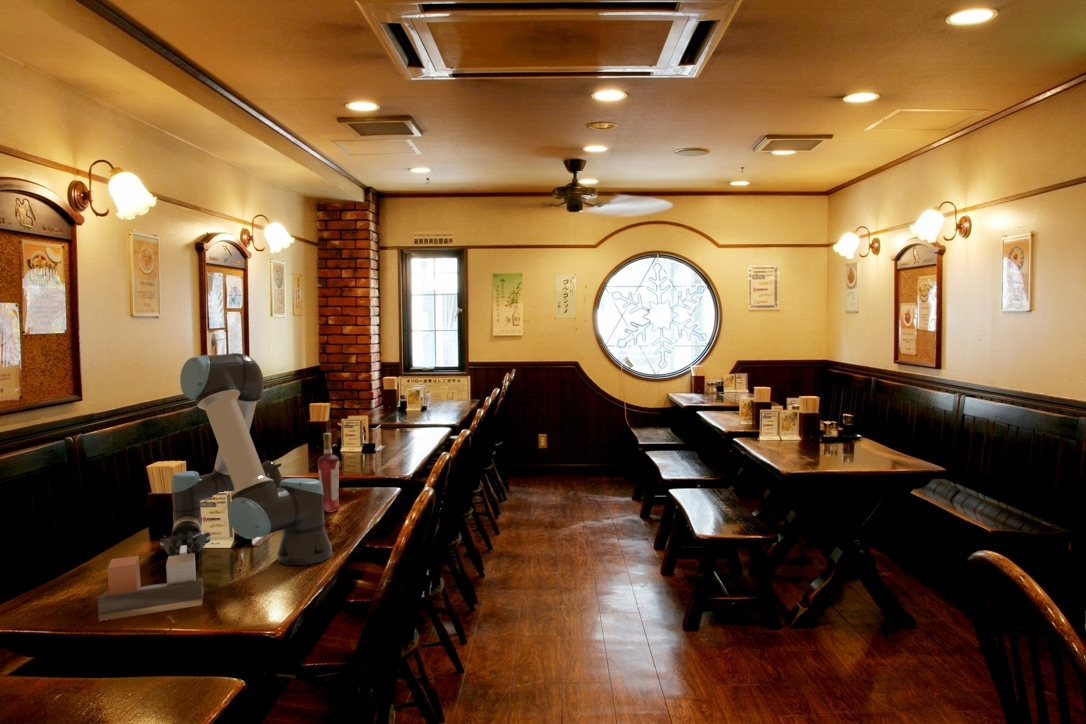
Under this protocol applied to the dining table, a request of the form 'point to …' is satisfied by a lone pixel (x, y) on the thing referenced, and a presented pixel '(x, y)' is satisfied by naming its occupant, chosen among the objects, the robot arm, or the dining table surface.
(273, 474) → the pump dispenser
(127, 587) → the terracotta plunger
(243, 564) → the dining table surface
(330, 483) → the liquor
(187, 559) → the gray block
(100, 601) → the base
